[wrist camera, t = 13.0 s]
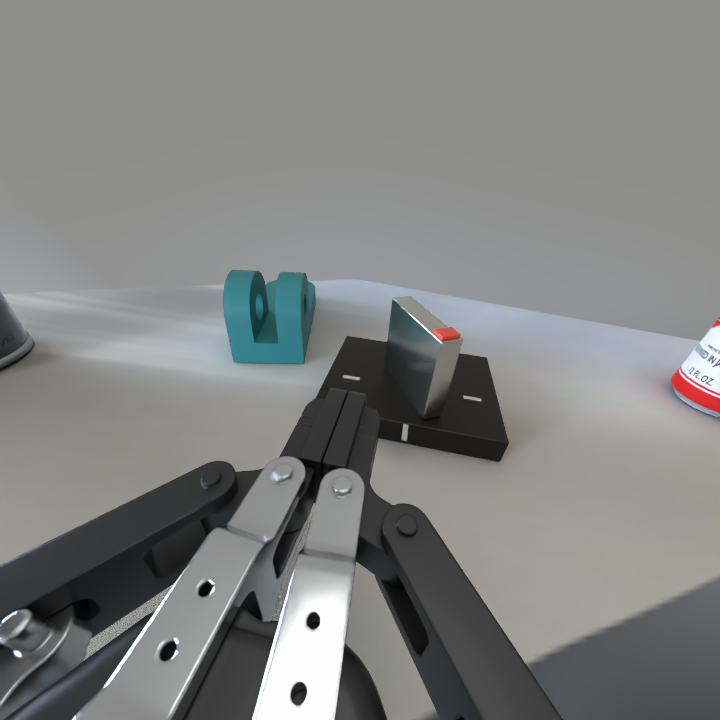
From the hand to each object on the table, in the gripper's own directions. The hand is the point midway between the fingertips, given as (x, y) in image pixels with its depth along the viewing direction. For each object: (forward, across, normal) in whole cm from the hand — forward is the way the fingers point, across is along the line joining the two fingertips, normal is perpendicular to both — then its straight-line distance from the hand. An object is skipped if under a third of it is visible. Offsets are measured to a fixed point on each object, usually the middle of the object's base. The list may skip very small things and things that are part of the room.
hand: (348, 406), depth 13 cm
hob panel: (+12, -3, +9) cm, 15 cm away
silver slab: (+11, -3, +7) cm, 13 cm away
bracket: (+22, +13, +9) cm, 27 cm away
